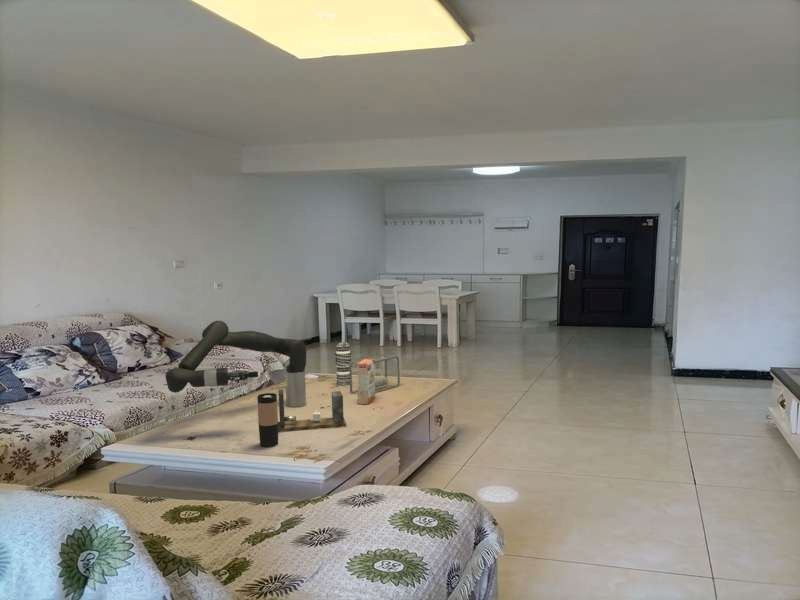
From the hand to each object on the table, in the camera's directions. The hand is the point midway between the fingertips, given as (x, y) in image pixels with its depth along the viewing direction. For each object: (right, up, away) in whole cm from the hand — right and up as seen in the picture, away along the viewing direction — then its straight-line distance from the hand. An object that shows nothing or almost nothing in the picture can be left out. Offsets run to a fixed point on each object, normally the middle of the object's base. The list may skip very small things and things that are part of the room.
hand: (257, 374), depth 261 cm
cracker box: (+44, -20, +49) cm, 69 cm away
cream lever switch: (+24, -21, +9) cm, 33 cm away
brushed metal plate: (+12, -22, +4) cm, 25 cm away
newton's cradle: (+48, -18, +74) cm, 90 cm away
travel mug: (+9, -26, -19) cm, 33 cm away
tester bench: (+21, -24, +6) cm, 32 cm away
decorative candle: (+29, -18, +86) cm, 92 cm away
